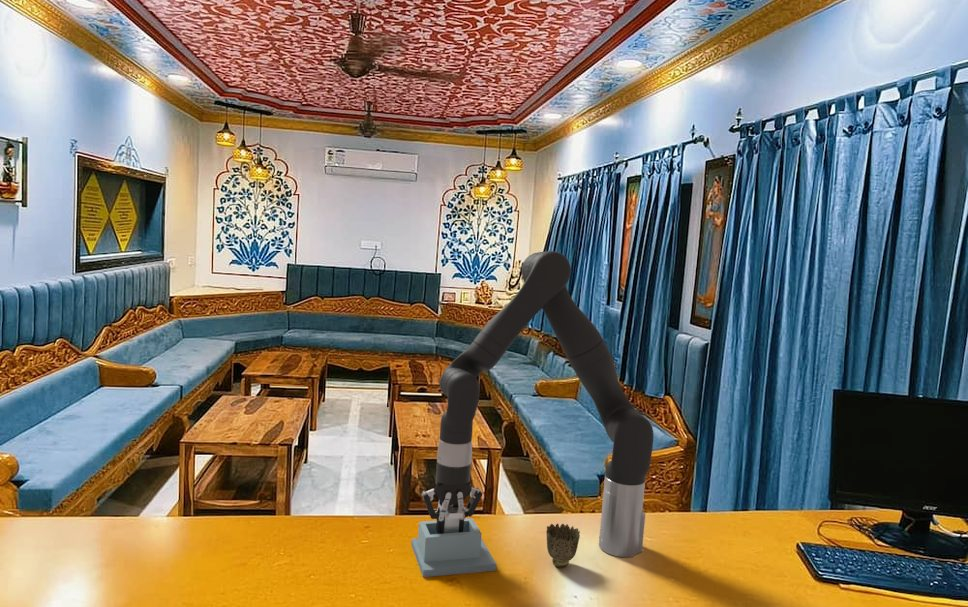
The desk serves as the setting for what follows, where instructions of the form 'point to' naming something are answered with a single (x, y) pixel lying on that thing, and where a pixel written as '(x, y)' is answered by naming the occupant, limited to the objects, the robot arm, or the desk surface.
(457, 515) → the grey painted wood block
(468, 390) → the robot arm
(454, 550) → the well board
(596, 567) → the desk surface
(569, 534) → the cup
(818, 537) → the desk surface
